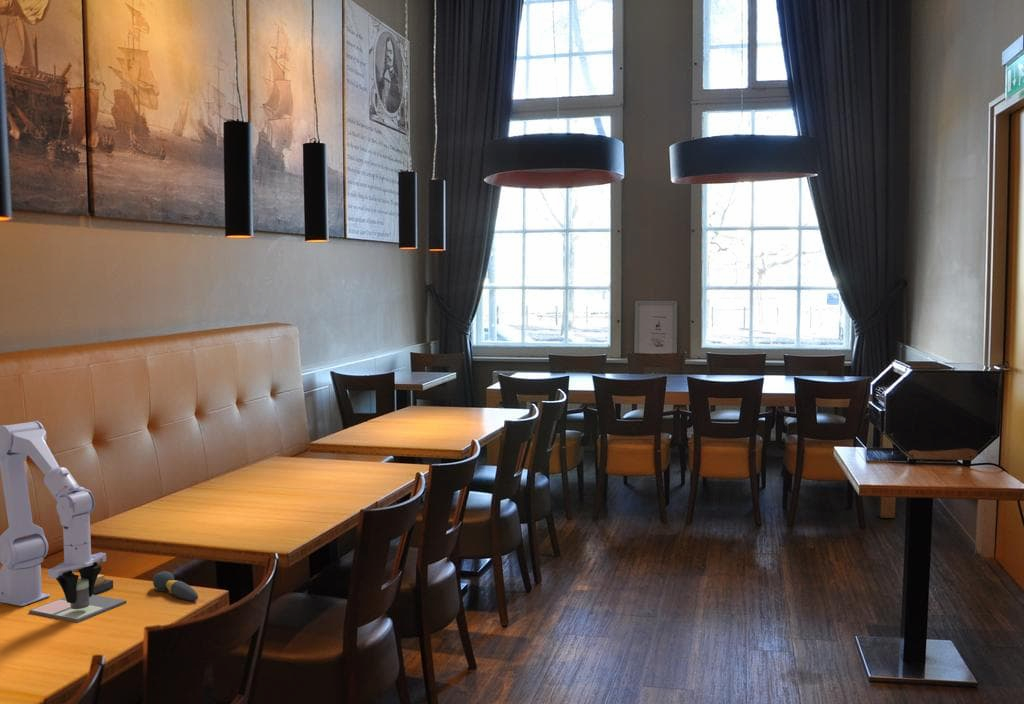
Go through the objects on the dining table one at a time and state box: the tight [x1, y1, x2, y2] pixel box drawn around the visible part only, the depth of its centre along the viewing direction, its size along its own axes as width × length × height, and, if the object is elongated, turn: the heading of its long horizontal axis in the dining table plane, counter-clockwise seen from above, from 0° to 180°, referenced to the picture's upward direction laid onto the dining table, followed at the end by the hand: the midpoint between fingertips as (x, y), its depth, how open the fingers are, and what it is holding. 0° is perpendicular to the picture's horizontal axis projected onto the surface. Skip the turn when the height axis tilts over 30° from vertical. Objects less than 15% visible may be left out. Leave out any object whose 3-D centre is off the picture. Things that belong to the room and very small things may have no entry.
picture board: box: [28, 594, 127, 623], centre depth 215 cm, size 16×14×1 cm
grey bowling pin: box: [152, 570, 199, 602], centre depth 225 cm, size 20×5×5 cm, turn 56°
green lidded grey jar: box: [70, 578, 89, 609], centre depth 210 cm, size 4×4×6 cm
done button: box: [94, 573, 105, 586], centre depth 228 cm, size 3×3×2 cm
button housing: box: [92, 578, 114, 595], centre depth 228 cm, size 6×6×2 cm
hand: (79, 599), depth 211 cm, fingers closed on green lidded grey jar, 4 cm apart
